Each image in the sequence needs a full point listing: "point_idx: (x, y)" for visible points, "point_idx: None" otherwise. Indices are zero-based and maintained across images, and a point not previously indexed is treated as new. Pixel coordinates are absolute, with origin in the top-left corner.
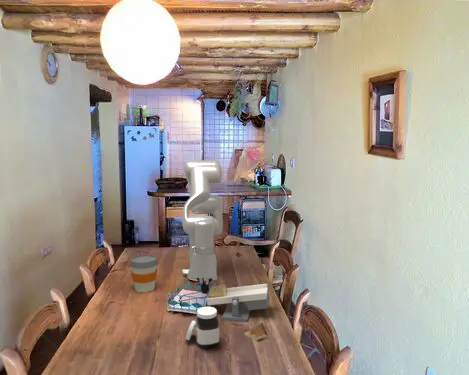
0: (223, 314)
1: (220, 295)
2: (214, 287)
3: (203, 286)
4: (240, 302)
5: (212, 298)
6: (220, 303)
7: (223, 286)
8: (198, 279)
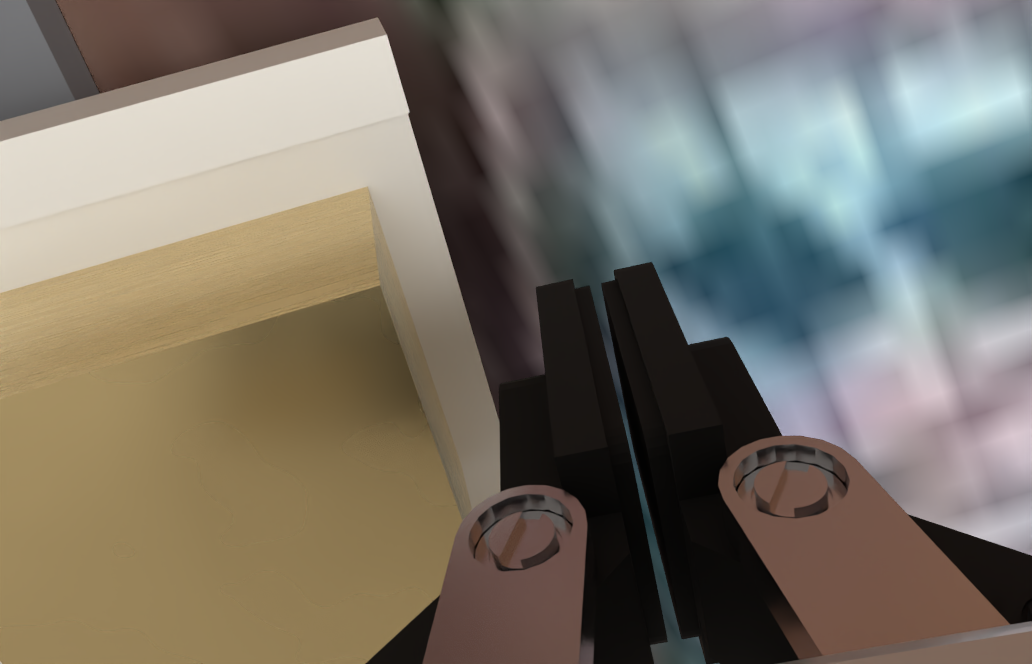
0: (31, 19)
1: (48, 316)
2: (341, 556)
3: (648, 397)
4: None
5: (207, 106)
6: (27, 117)
7: (41, 652)
8: (1028, 607)
